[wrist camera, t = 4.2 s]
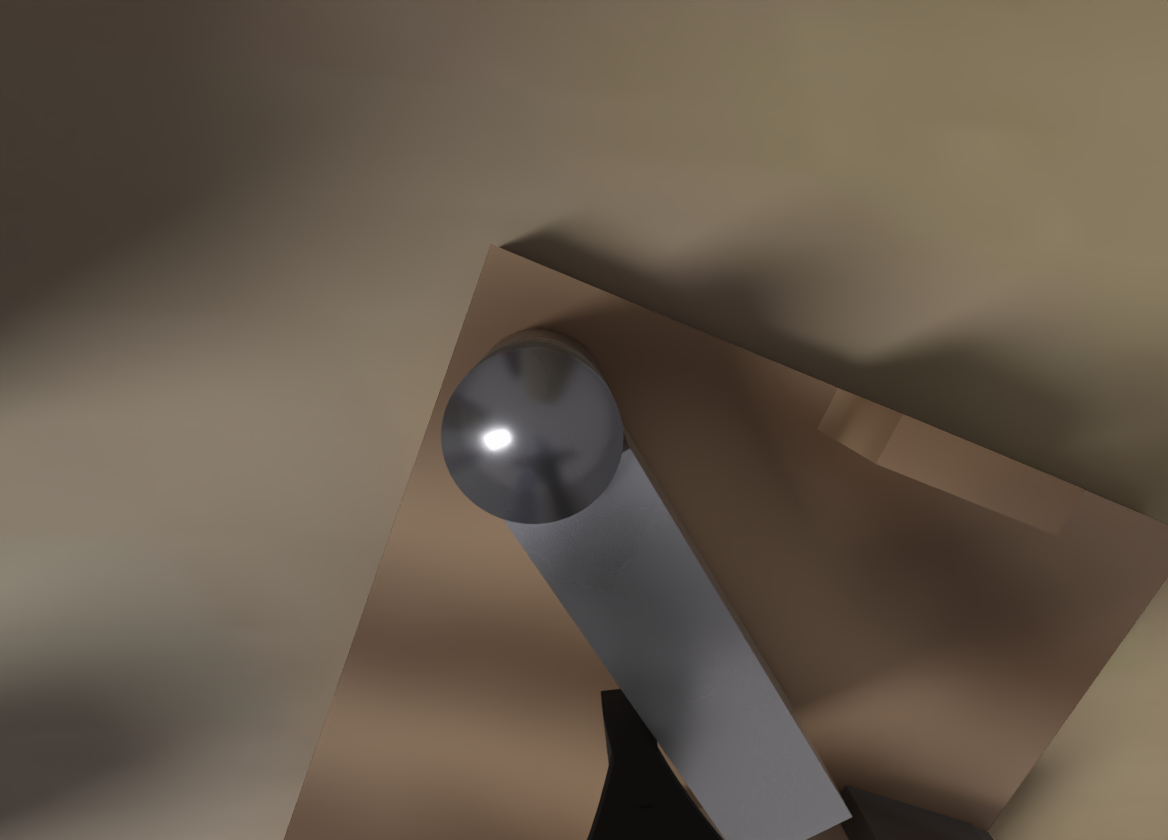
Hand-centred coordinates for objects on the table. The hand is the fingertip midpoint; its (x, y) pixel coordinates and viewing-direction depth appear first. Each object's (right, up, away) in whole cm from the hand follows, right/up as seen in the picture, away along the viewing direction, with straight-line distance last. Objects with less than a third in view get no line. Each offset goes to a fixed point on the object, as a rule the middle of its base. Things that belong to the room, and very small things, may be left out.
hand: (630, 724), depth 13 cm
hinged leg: (0, +4, 0) cm, 4 cm away
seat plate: (+2, -1, +3) cm, 4 cm away
